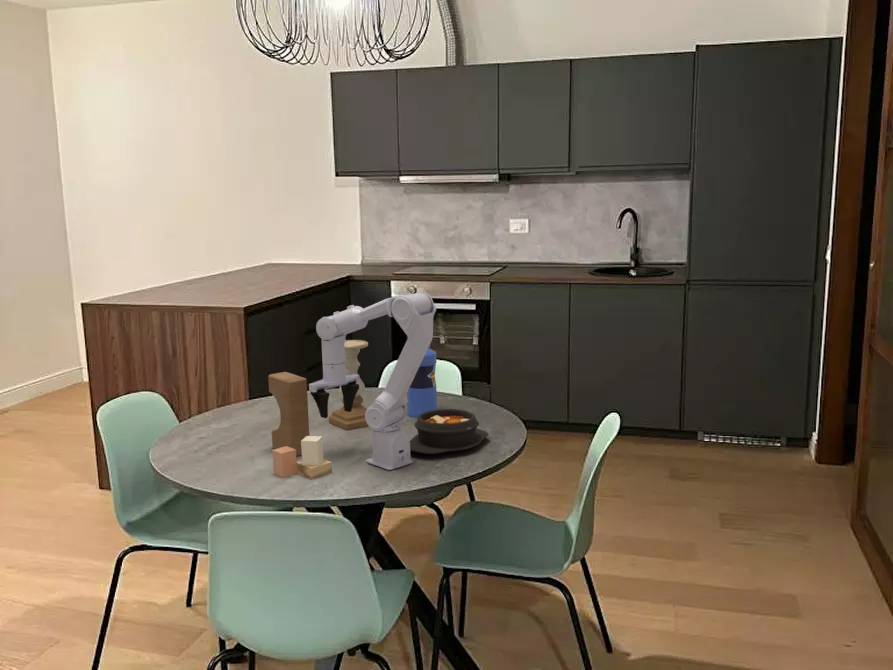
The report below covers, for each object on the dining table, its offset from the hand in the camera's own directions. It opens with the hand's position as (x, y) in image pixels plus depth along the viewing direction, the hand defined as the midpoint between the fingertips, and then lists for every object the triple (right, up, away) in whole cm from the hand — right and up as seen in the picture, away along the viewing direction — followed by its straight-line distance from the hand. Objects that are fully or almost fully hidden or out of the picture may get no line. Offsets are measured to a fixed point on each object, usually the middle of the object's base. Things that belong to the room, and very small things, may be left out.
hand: (336, 414), depth 208 cm
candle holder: (+1, -6, +29) cm, 30 cm away
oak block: (-3, -13, -13) cm, 19 cm away
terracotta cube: (-11, -13, -13) cm, 21 cm away
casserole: (+29, -9, +6) cm, 31 cm away
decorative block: (-12, -10, +5) cm, 17 cm away
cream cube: (-4, -10, -13) cm, 17 cm away
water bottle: (+21, -4, +37) cm, 43 cm away
